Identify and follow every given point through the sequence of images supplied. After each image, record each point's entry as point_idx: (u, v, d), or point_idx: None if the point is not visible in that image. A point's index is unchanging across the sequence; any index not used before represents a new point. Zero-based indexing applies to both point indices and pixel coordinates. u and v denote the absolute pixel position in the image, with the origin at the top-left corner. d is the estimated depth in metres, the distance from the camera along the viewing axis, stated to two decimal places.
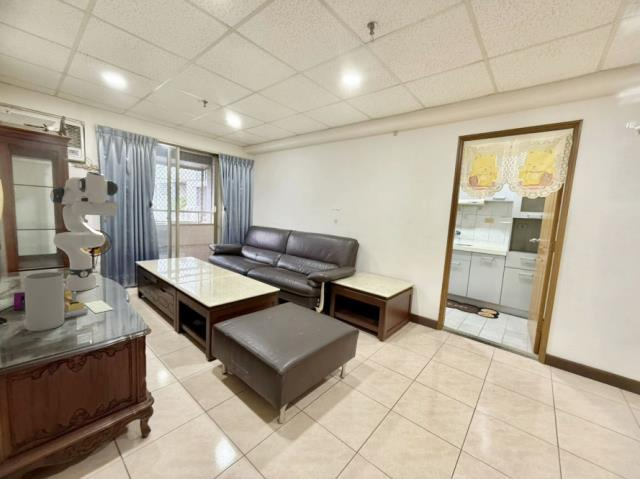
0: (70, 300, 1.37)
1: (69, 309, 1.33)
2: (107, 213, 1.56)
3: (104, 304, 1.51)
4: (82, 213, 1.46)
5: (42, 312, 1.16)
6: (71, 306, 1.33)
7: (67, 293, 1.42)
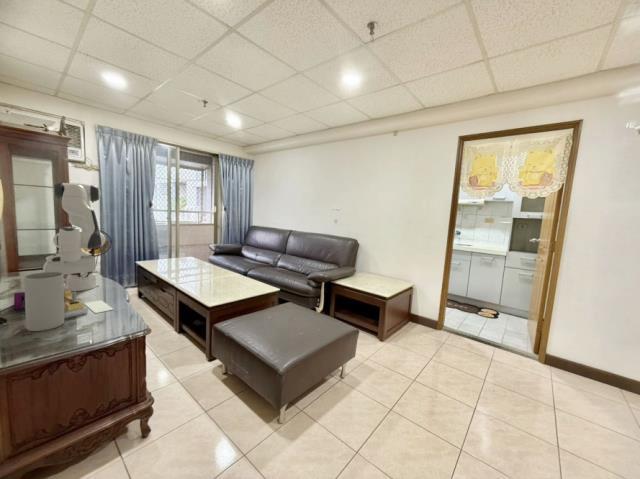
0: (70, 300, 1.37)
1: (69, 309, 1.33)
2: (83, 270, 1.41)
3: (104, 304, 1.51)
4: None
5: (42, 312, 1.16)
6: (71, 306, 1.33)
7: (67, 293, 1.42)
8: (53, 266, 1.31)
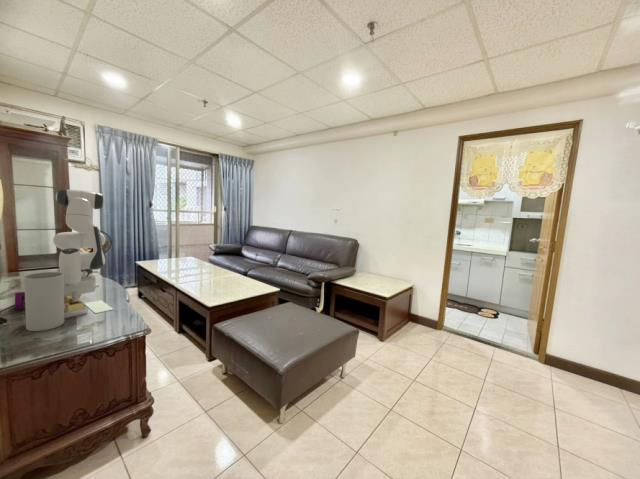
0: (70, 300, 1.37)
1: (69, 309, 1.33)
2: (83, 291, 1.42)
3: (104, 304, 1.51)
4: None
5: (42, 312, 1.16)
6: (71, 306, 1.33)
7: None
8: None
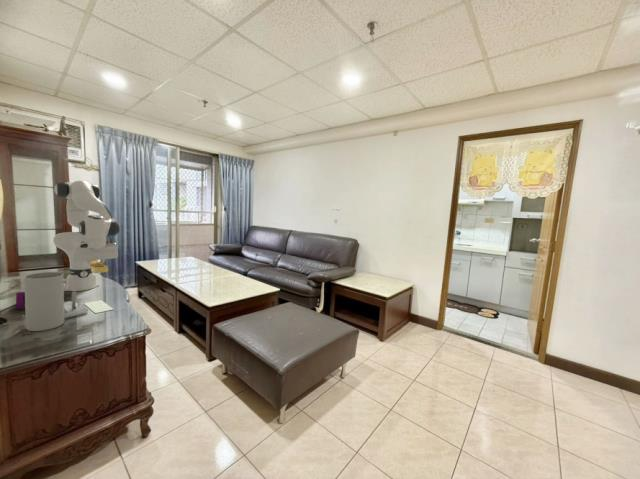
0: (96, 264, 1.44)
1: (95, 271, 1.40)
2: (107, 256, 1.50)
3: (104, 304, 1.51)
4: (81, 259, 1.40)
5: (42, 312, 1.16)
6: (97, 268, 1.41)
7: None
8: (81, 252, 1.40)
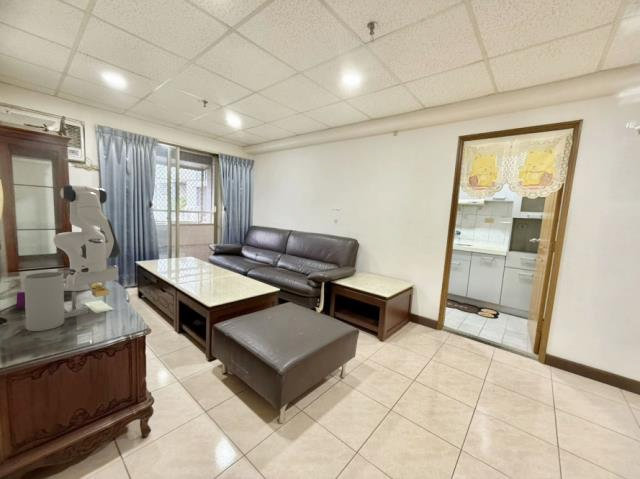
0: (96, 287, 1.46)
1: (96, 295, 1.41)
2: (108, 279, 1.51)
3: (104, 304, 1.51)
4: (82, 283, 1.41)
5: (42, 312, 1.16)
6: (98, 292, 1.42)
7: None
8: (82, 276, 1.41)
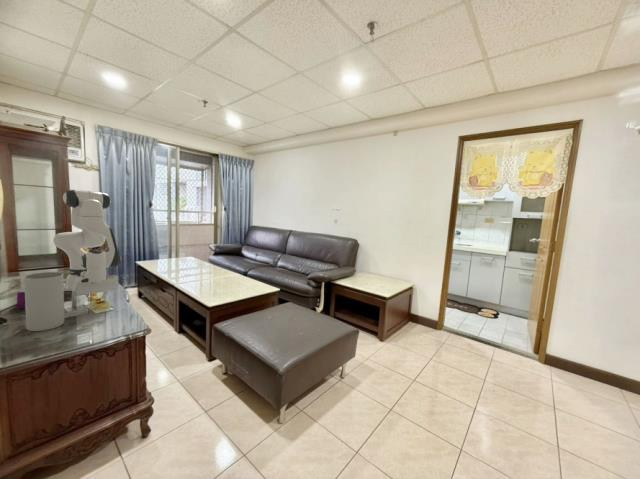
0: (96, 300, 1.47)
1: (96, 308, 1.42)
2: (108, 289, 1.52)
3: None
4: (82, 294, 1.42)
5: (42, 312, 1.16)
6: (98, 305, 1.43)
7: (93, 293, 1.51)
8: (82, 286, 1.42)
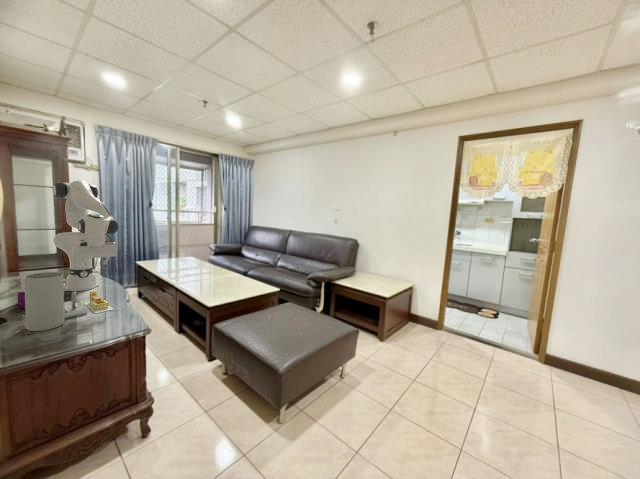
0: (96, 300, 1.47)
1: (96, 308, 1.42)
2: (106, 255, 1.52)
3: None
4: (81, 257, 1.43)
5: (42, 312, 1.16)
6: (98, 305, 1.43)
7: (93, 293, 1.51)
8: (80, 250, 1.42)
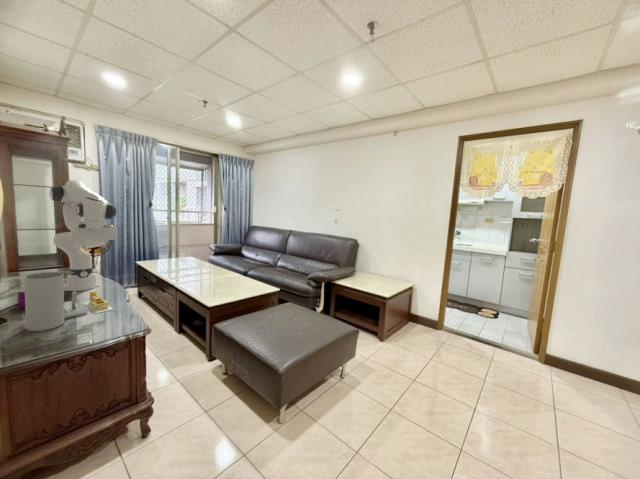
0: (96, 300, 1.47)
1: (96, 308, 1.42)
2: (105, 238, 1.54)
3: None
4: (79, 239, 1.44)
5: (42, 312, 1.16)
6: (98, 305, 1.43)
7: (93, 293, 1.51)
8: (79, 232, 1.44)
